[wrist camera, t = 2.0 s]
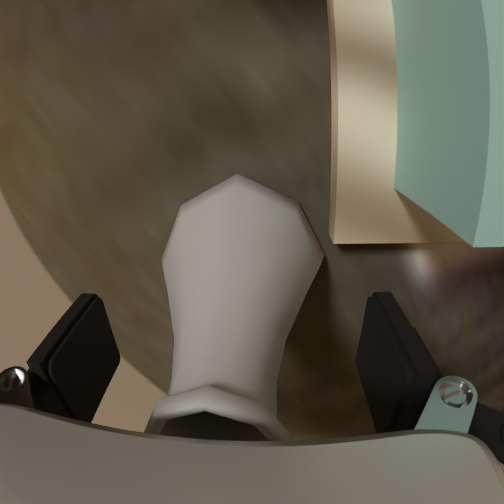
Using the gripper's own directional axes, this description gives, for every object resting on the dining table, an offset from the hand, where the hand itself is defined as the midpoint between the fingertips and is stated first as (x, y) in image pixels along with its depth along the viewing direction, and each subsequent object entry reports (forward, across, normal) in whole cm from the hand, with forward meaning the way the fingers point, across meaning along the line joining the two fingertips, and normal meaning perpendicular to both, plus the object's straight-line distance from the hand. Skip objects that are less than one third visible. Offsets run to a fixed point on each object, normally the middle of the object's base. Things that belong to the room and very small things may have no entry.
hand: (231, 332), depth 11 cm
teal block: (+4, -11, -8) cm, 14 cm away
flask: (+5, 0, -1) cm, 5 cm away
